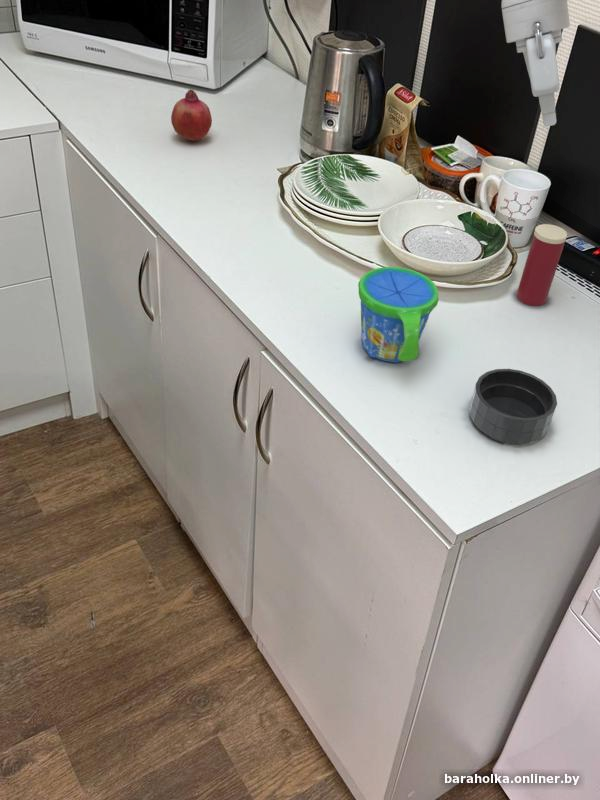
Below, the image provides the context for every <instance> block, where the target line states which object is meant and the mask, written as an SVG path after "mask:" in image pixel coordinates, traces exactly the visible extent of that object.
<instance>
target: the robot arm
mask: <svg viewBox="0 0 600 800" xmlns="http://www.w3.org/2000/svg"><path fill="white" fill-rule="evenodd" d="M500 5H501V7H500V8H501V13H502V14H501V15H502V21H503V27H504V33H505V42H506V43H507V44H511V43H515V46H516V53H517V54H519V53H522V54H523V58H524V62H525V65H526V70H527V73H528V78H529V80H530V81H529V82H530V88H531V93H532V96H533V97H536V98H537V97H538V102H539V107H540V111H541V116H542V123H543V126H544V127H546V128H547V127H551V126H555V125H556V124H557V113H556V97H555V93H558V92H559V91H560V76H559V70H558V63H557V49H556V48H557V44H558V43H559V44H560V43H561V42H563V36H562V30H563V29H567V28H569V27H570V26H571V23H570V22H571V21H570V13H569V5H568V0H501V4H500Z"/></svg>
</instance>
